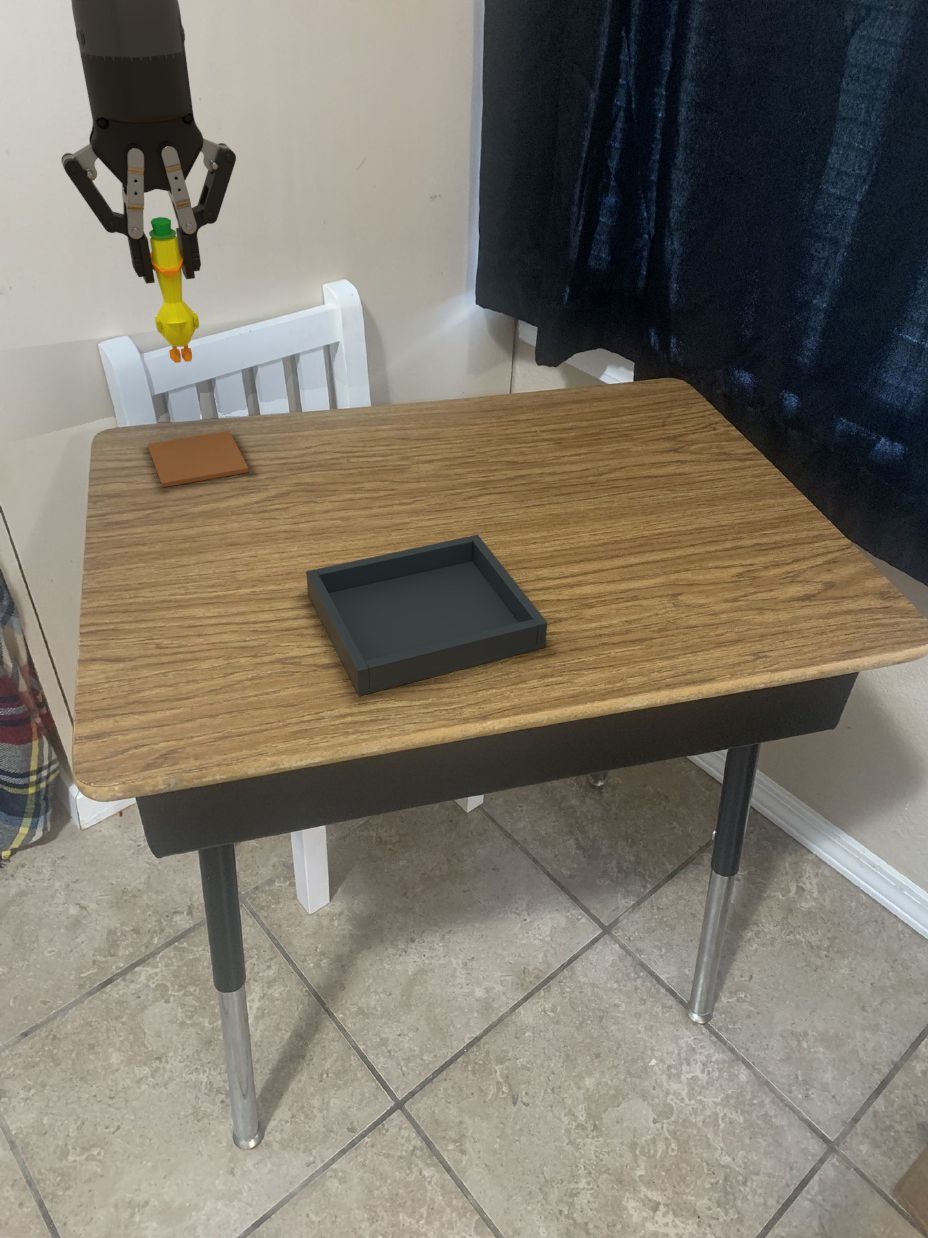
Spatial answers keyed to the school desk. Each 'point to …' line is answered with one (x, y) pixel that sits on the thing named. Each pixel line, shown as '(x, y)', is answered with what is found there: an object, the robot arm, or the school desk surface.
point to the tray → (423, 613)
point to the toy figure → (171, 290)
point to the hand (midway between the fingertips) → (168, 277)
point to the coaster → (197, 458)
